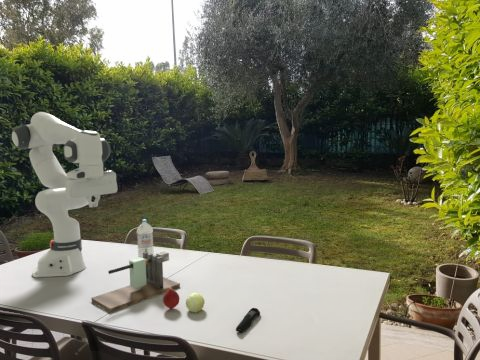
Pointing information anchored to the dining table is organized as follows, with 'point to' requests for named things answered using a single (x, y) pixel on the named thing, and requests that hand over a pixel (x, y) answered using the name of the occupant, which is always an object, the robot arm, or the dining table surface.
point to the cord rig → (134, 295)
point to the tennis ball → (194, 302)
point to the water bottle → (145, 239)
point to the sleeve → (137, 272)
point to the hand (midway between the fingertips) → (93, 206)
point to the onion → (171, 298)
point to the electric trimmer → (248, 319)
